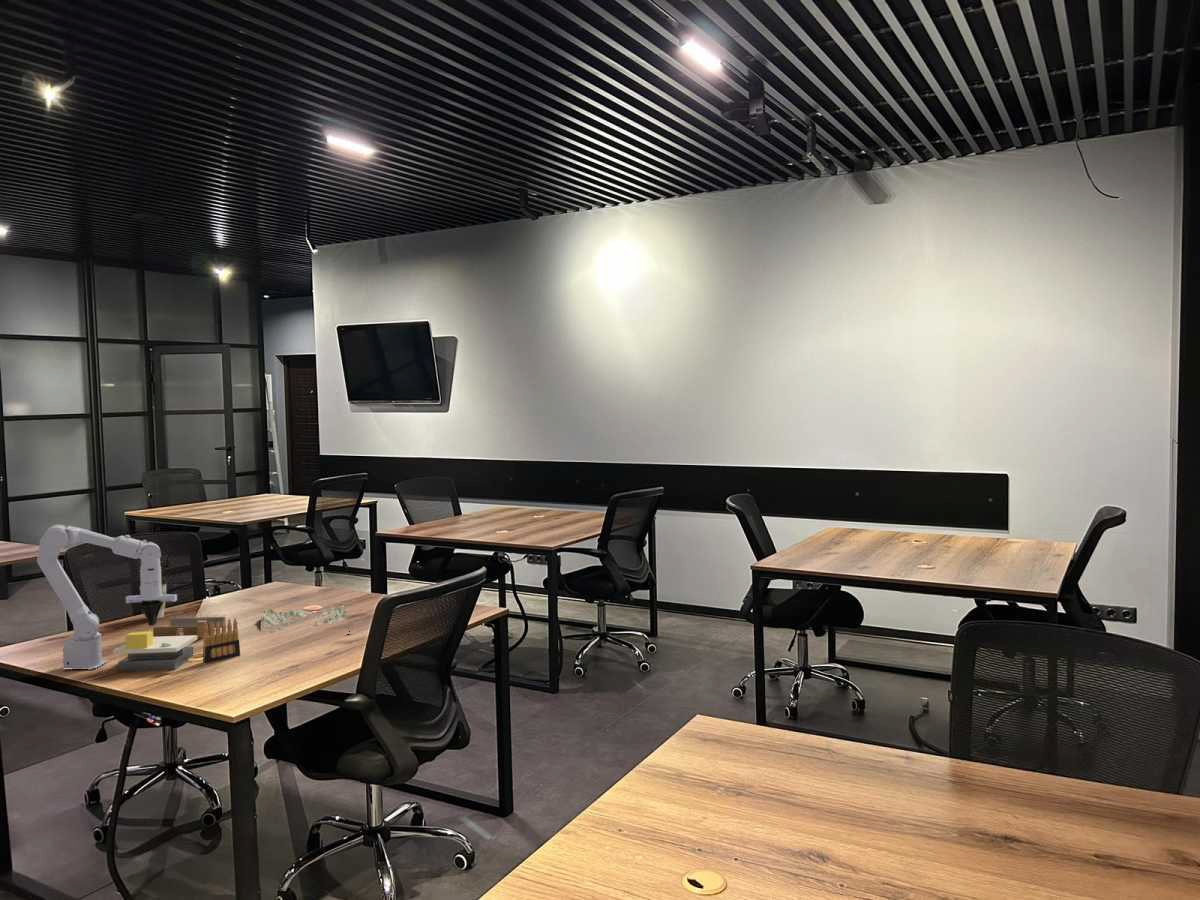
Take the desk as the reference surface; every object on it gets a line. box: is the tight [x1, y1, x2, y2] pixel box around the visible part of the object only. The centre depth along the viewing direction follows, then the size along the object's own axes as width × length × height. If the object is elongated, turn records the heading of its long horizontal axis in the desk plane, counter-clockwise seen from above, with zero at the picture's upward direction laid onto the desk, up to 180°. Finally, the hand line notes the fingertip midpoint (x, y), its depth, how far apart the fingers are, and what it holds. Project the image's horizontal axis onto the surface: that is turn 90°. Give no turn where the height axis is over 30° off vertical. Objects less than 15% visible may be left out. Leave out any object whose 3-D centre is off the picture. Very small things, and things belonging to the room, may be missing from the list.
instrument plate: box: [112, 630, 198, 655], centre depth 252 cm, size 18×16×5 cm
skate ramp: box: [152, 613, 227, 639], centre depth 283 cm, size 29×35×8 cm
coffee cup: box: [137, 576, 169, 620], centre depth 310 cm, size 10×10×15 cm
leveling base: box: [117, 646, 194, 672], centre depth 252 cm, size 16×14×5 cm
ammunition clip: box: [202, 617, 241, 664], centre depth 257 cm, size 11×2×12 cm, turn 136°
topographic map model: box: [260, 602, 348, 633], centre depth 295 cm, size 36×29×5 cm
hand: (152, 624), depth 258 cm, fingers closed
